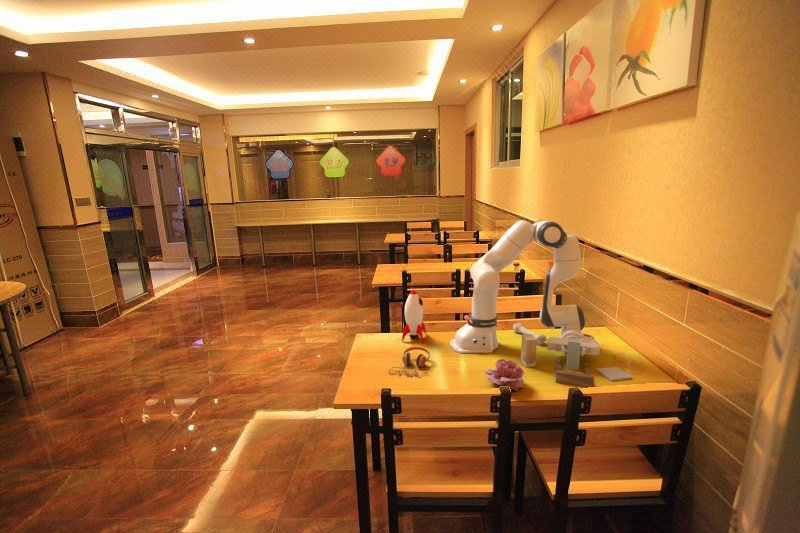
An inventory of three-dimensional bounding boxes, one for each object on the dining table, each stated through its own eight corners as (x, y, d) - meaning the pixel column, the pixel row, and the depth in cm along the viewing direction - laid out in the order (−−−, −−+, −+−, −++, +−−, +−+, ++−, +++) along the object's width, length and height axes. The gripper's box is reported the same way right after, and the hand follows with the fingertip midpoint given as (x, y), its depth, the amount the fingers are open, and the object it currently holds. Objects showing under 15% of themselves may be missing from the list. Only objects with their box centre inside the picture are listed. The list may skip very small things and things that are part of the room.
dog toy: (548, 344, 189) (548, 334, 188) (537, 346, 187) (538, 336, 186) (521, 330, 208) (521, 321, 207) (511, 332, 206) (511, 322, 205)
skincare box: (520, 360, 173) (521, 334, 171) (529, 360, 174) (531, 333, 171) (525, 367, 167) (527, 339, 164) (536, 367, 167) (537, 339, 165)
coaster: (610, 381, 154) (610, 379, 154) (595, 370, 163) (595, 368, 163) (631, 378, 156) (632, 377, 156) (615, 368, 164) (616, 366, 164)
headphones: (385, 369, 163) (400, 340, 180) (387, 379, 165) (401, 350, 182) (426, 375, 158) (437, 344, 175) (426, 385, 160) (438, 354, 177)
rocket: (423, 343, 194) (422, 293, 189) (401, 342, 196) (400, 292, 191) (426, 334, 205) (426, 287, 199) (405, 333, 207) (404, 286, 201)
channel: (555, 362, 171) (555, 353, 170) (589, 366, 167) (589, 357, 166) (555, 382, 155) (556, 372, 154) (593, 387, 150) (593, 377, 149)
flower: (489, 390, 145) (497, 363, 144) (479, 375, 159) (486, 351, 159) (528, 399, 146) (536, 373, 145) (515, 384, 160) (522, 360, 160)
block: (566, 364, 169) (568, 337, 166) (577, 365, 167) (579, 338, 165) (566, 369, 165) (568, 341, 162) (578, 370, 163) (580, 342, 161)
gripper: (547, 331, 179) (546, 343, 167) (598, 336, 172) (601, 349, 160) (546, 344, 181) (545, 357, 168) (596, 350, 174) (600, 364, 161)
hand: (573, 353), depth 164 cm, fingers closed on block, 4 cm apart
